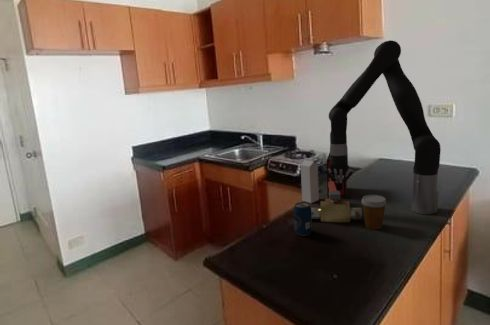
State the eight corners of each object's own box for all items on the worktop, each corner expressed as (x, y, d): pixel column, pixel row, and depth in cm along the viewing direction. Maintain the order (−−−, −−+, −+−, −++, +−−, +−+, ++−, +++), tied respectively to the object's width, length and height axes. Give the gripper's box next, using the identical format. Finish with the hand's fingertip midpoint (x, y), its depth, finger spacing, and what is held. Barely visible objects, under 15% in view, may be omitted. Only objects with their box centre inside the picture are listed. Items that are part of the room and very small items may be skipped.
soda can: (291, 231, 137) (290, 203, 134) (305, 227, 140) (304, 200, 137) (300, 238, 131) (299, 209, 128) (315, 233, 134) (314, 205, 131)
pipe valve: (360, 215, 147) (360, 195, 144) (362, 222, 140) (362, 201, 138) (302, 215, 152) (301, 195, 150) (302, 221, 145) (301, 201, 143)
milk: (310, 203, 166) (309, 160, 161) (301, 200, 171) (300, 158, 165) (319, 200, 169) (317, 157, 164) (310, 197, 174) (308, 156, 169)
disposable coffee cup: (385, 222, 139) (386, 194, 136) (386, 232, 130) (387, 203, 127) (361, 220, 142) (361, 194, 139) (361, 230, 133) (361, 202, 130)
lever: (340, 200, 141) (340, 194, 140) (329, 200, 142) (329, 194, 141) (335, 186, 159) (335, 181, 158) (326, 187, 159) (326, 181, 159)
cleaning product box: (330, 187, 187) (329, 152, 182) (346, 188, 184) (346, 152, 179) (327, 197, 172) (326, 159, 167) (345, 198, 169) (345, 159, 164)
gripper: (356, 151, 148) (356, 188, 152) (326, 151, 155) (327, 186, 159) (352, 155, 142) (352, 194, 146) (321, 154, 149) (323, 191, 152)
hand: (339, 190), depth 152 cm, fingers closed
